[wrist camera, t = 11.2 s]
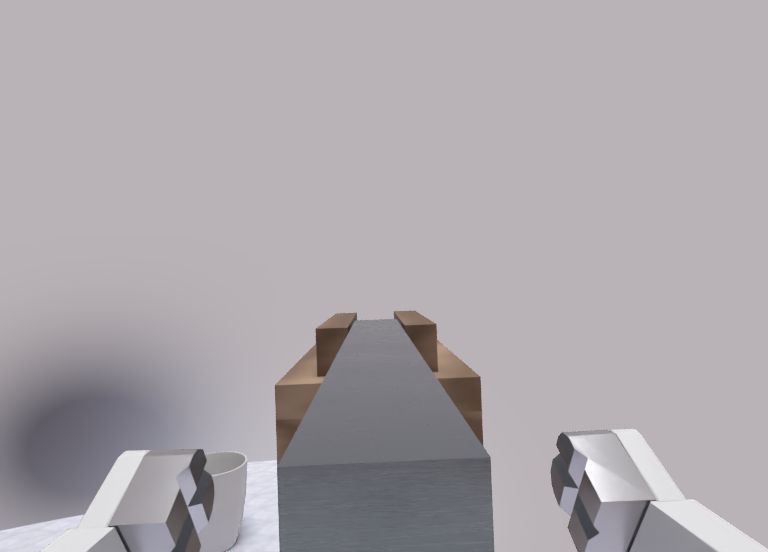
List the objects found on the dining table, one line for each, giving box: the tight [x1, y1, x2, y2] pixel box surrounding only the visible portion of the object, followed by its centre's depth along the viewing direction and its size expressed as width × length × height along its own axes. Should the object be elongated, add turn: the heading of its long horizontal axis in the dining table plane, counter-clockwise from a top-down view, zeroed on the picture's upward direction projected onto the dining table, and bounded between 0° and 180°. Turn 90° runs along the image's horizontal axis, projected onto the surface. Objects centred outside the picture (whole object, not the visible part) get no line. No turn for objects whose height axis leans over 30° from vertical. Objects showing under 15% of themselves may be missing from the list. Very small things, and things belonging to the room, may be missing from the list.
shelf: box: [275, 311, 483, 466], centre depth 35 cm, size 12×18×29 cm, turn 1°
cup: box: [197, 451, 247, 552], centre depth 56 cm, size 8×8×10 cm
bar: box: [277, 319, 494, 552], centre depth 19 cm, size 3×26×3 cm, turn 1°
